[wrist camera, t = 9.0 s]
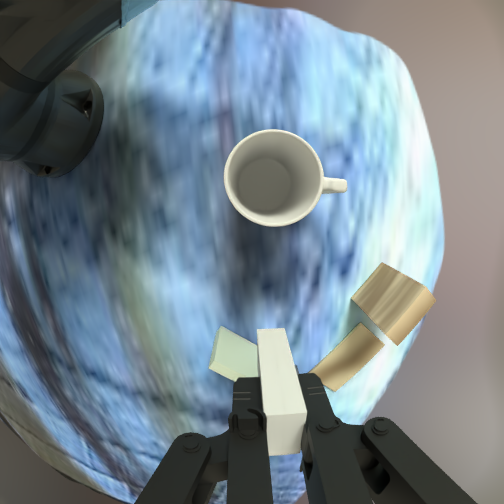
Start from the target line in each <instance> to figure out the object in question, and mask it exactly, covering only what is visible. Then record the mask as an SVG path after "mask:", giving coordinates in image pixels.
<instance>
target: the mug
mask: <svg viewBox="0 0 504 504" xmlns="http://www.w3.org/2000/svg"><path fill="white" fill-rule="evenodd" d="M224 184H225V189H226V192H227V195H228V197H229V199H230V201H231V203H232V204H233V206H234V207H235V208H236V209H237V211H238V212H239V213H240V214H242V215H243V216H244V217H246V218H247V219H249V220H250V221H252V222H254V223H257V224H260V225H264V226H270V227H279V226H286V225H290V224H292V223H295V222H297V221H299V220H301V219H302V218H304V217H305V216H306V215H308V214H309V213H310V212H311V211H312V209H313V208H314V207H315V206H316V204H317V202H318V201H319V199H320V196H321V194H329V193H344V192H346V191H347V182H346V180H344V179H336V178H327V177H324V174H323V168H322V165H321V162H320V159H319V157H318V156H317V154H316V152H315V151H314V149H313V148H312V147H311V146H310V145H309V144H308V143H307V142H306V141H305V140H303V139H302V138H300V137H299V136H297V135H295V134H293V133H290V132H287V131H283V130H263V131H259V132H256V133H253V134H251V135H249V136H248V137H246V138H244V139H243V140H242V141H241V142H239V143H238V144H237V145H236V147H235V148H234V149H233V150H232V152H231V153H230V155H229V157H228V159H227V162H226V165H225V170H224Z"/></svg>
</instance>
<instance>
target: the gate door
mask: <svg viewBox="0 0 504 504" xmlns="http://www.w3.org/2000/svg"><path fill="white" fill-rule="evenodd" d="M209 369H211V370H213V371H215V372H217V373H219V374H221V375H223V376H225V377H227V378H229V379H231V380H233V381H235V382H236V380H237V379H238V377H258V370H257V345H255V344H253V343H251V342H250V341H248V340H246V339H244V338H242V337H240V336H239V335H237V334H235V333H233V332H231V331H230V330H228V329H226V328H224V327H223V326H220V328H219V329H218V331H217V332H216V336H215V340H214V345H213V350H212V354H211V359H210V363H209ZM295 369H296V373H297V374H299V371H298V368H297V366H296V365H295Z"/></svg>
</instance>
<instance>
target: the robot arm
mask: <svg viewBox="0 0 504 504" xmlns="http://www.w3.org/2000/svg"><path fill="white" fill-rule="evenodd" d="M157 1H158V0H0V161H11V162H13V163H15V164H16V165H18V166H20V167H21V168H23V169H24V170H26V171H28V172H29V173H31V174H33V175H35V176H39V177H58V176H61V175H64V174H66V173H68V172H69V171H71V170H72V169H73V168H75V167H76V166H77V165H78V164H79V163H80V162H81V161H82V160H83V159H84V157H85V156H86V155H87V153H88V152H89V150H90V149H91V147H92V145H93V143H94V141H95V139H96V137H97V135H98V132H99V129H100V126H101V122H102V118H103V109H104V102H103V95H102V92H101V89H100V87H99V85H98V84H97V83H96V82H95V81H94V80H93V79H92V78H90V77H89V76H87V75H86V74H84V73H82V72H79V71H75V70H65V69H66V68H67V67H68V66H69V65H70V64H72V63H73V62H74V61H75V60H76V59H77V58H79V57H80V56H81V55H82V54H83V53H85V52H86V51H87V50H88V49H90V48H91V47H92V46H94V45H95V44H96V43H98V42H99V41H100V40H102V39H103V38H105V37H106V36H107V35H109V34H110V33H112V32H113V31H115V30H116V29H118V28H122V27H124V26H125V25H126V23H127V22H128V21H130V20H131V19H133V18H134V17H136V16H137V15H139V14H140V13H142V12H143V11H145V10H146V9H148V8H150V7H151V6H153V5H154V4H155V3H157ZM257 370H258V377H238V379H237V380H236V382H235V383H234V386H233V404H232V412H231V413H230V415H229V417H228V423H229V429H228V430H227V431H226V432H225V433H223V434H221V435H218V436H214V437H210V438H206V437H205V436H203V435H201V434H199V433H192V432H190V433H184V434H182V435H180V436H178V437H177V438H176V439H175V440H174V442H173V443H172V445H171V446H170V448H169V450H168V451H167V453H166V455H165V456H164V458H163V459H162V461H161V463H160V464H159V466H158V467H157V469H156V471H155V472H154V474H153V475H152V477H151V478H150V480H149V482H148V483H147V485H146V486H145V488H144V489H143V491H142V492H141V494H140V496H139V497H138V499H137V500H136V502H135V503H134V504H208V502H209V500H210V498H211V495H212V493H213V491H214V488H215V486H216V483H217V482H220V481H224V480H227V504H273V495H272V484H271V474H270V463H269V456H273V455H287V454H297V453H300V450H302V455H303V456H302V461H301V465H300V472H302V471H303V474H304V479H305V484H306V490H307V495H308V500H309V504H373V502H372V500H373V501H374V503H375V504H477V503H476V502H475V501H474V500H473V499H472V498H471V497H470V496H469V495H468V494H467V493H466V492H465V491H463V490H462V489H461V488H460V487H459V486H458V485H457V484H456V483H455V482H454V481H453V480H452V479H451V478H450V477H449V476H448V475H447V474H445V472H444V471H442V469H440V468H439V467H438V466H437V465H436V464H435V463H434V462H433V461H432V460H431V459H430V458H429V457H428V456H427V455H426V454H425V453H424V452H423V451H422V450H421V449H420V448H419V447H418V446H417V445H416V444H415V443H414V442H413V441H412V440H411V439H410V438H409V437H408V436H407V435H406V434H405V433H404V432H403V431H402V430H401V429H400V428H399V427H398V426H397V425H396V424H395V423H394V422H393V421H391V420H390V419H388V418H384V417H375V418H372V419H370V420H368V421H367V422H366V424H365V425H350V424H346V423H343V422H342V421H341V420H340V419H339V418H338V417H336V416H335V415H334V413H333V410H332V407H331V405H330V402H329V399H328V397H327V394H326V391H325V389H324V387H323V384H322V381H321V379H320V378H319V377H318V376H317V375H316V374H315V373H304V374H297V373H296V369H295V365H294V362H293V358H292V354H291V351H290V347H289V343H288V340H287V336H286V332H285V329H284V328H279V329H257Z"/></svg>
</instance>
